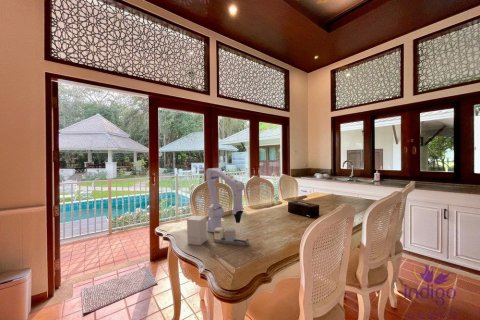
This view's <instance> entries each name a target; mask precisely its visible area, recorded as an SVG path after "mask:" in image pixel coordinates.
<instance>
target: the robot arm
mask: <svg viewBox="0 0 480 320" xmlns="http://www.w3.org/2000/svg"><path fill="white" fill-rule="evenodd" d="M222 170H223V169H221V168H220V167H212V168H206V170H205V172H204V173H205V178H206V181H207V182H206V183H207V187H208V193H209V199H210V206H209V207H208V212H207V213H208V219H207V233H208V232H210V233H214V229H215V228H217V227H219V228H223V230H224V229H225V228H224V227H222V225H223V224H222V218H223V216H224V213H225V212H224V208H223V205H222V204H221V203H219V198H218V193H217V192H218V191H217V187H216V186H217V185H216V181H217V180H218V179H219V178H220V179H221V180H223V181H224V182H225V184H226V185H227V186H228V187H229V188H230V190H231V192H232V198H233V199H232V212H231V215H233V217H234V218H235V219H234V220H235V223H236V224H240V223H241V219H242V215H243V212H244V211H245V207H244V205H243V191H244V189H245V185H244V183H243V182H242V181H240V180H239V181H238V180H237V179H235V178H234V177H233V176H232V175H229V176H228V175H227V174H226V173H225V172H224V171H222Z"/></svg>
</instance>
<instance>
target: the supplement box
mask: <svg viewBox="0 0 480 320" xmlns="http://www.w3.org/2000/svg"><path fill="white" fill-rule="evenodd" d="M207 222H208V219H207V216H204V215H193V216H190V217H188V218H187V219H186V229H187V230H186V232H187V233H186V235H187V245H193V246H194V245H195V246H202V244H204V243H206V241H207V240H208V231H207V230H208V225H207Z"/></svg>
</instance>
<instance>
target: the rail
mask: <svg viewBox="0 0 480 320" xmlns="http://www.w3.org/2000/svg"><path fill="white" fill-rule="evenodd" d="M249 241H250V239H249V238H246V239H238V238H236V239H235V240H234V241H225V237H223V238H222V239H221V240H217V239H214V238H213V243H216V244H224V245H225V244H226V245H231V246H232V245H233V246H238V247H239V246H240V247H246V248H247V247H248V246H249V244H250V242H249Z"/></svg>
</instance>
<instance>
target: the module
mask: <svg viewBox="0 0 480 320" xmlns="http://www.w3.org/2000/svg"><path fill="white" fill-rule="evenodd" d="M224 233H225V237H224V238H225V241H234V240H235V239H237V238H236V233H237V232H236V228H227V229H225V232H224Z"/></svg>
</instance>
